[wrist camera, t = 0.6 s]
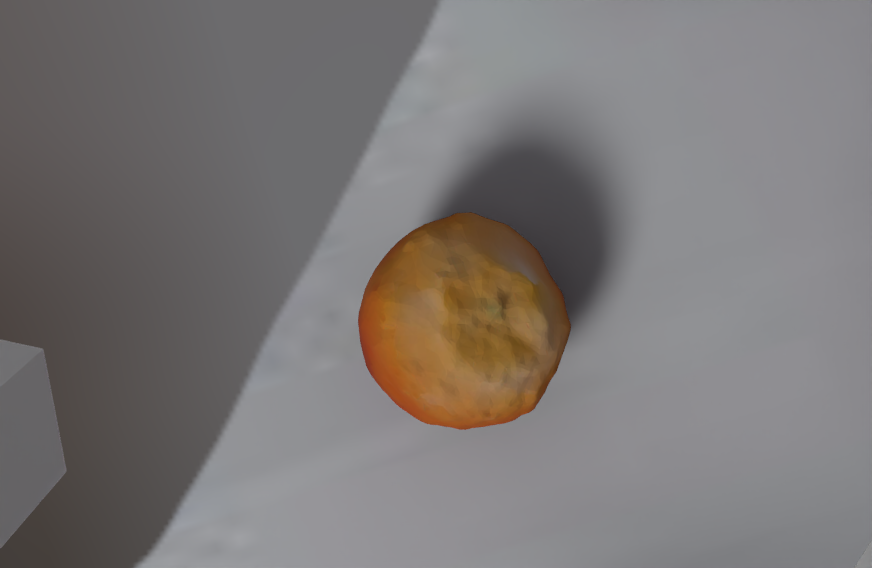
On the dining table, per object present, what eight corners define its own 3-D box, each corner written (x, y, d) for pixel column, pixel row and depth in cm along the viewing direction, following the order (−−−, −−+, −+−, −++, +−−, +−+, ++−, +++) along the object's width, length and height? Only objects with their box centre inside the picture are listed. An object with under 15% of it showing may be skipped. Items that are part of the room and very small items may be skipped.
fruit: (315, 262, 32) (359, 217, 24) (479, 232, 35) (563, 183, 27) (357, 447, 31) (416, 459, 24) (521, 401, 34) (619, 398, 27)
